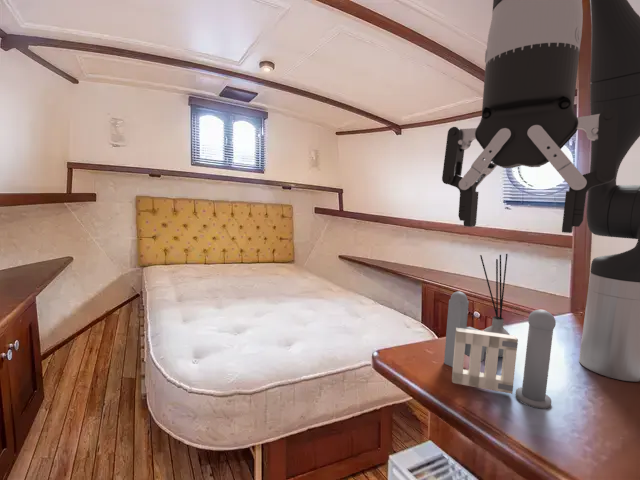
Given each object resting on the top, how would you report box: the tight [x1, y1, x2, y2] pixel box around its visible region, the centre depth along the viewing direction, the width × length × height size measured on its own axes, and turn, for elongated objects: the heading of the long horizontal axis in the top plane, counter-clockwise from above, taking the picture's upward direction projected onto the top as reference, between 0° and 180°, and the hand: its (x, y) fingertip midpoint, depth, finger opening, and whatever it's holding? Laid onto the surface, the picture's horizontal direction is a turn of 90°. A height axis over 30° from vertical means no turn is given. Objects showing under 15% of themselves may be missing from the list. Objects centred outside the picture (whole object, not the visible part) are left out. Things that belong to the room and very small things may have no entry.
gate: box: [451, 328, 519, 395], centre depth 53 cm, size 8×2×9 cm, turn 72°
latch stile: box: [443, 290, 486, 368], centre depth 60 cm, size 4×6×14 cm
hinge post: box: [514, 309, 557, 410], centre depth 50 cm, size 5×5×14 cm
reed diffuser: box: [479, 253, 511, 357], centre depth 66 cm, size 10×7×20 cm
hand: (514, 229), depth 34 cm, fingers open, 8 cm apart
